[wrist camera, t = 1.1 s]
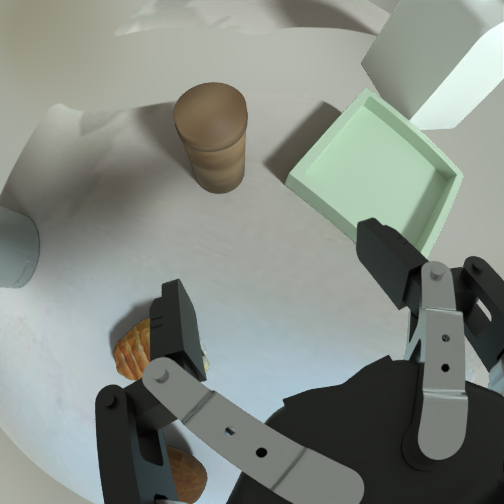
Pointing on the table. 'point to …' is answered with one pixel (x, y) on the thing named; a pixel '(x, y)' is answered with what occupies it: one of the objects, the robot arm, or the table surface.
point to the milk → (438, 59)
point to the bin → (378, 174)
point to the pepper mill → (213, 134)
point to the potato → (186, 475)
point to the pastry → (139, 351)
